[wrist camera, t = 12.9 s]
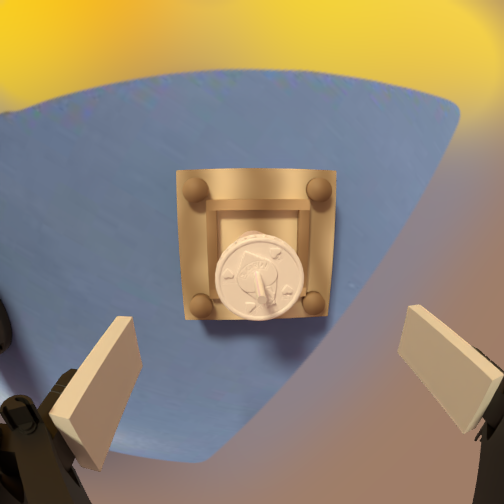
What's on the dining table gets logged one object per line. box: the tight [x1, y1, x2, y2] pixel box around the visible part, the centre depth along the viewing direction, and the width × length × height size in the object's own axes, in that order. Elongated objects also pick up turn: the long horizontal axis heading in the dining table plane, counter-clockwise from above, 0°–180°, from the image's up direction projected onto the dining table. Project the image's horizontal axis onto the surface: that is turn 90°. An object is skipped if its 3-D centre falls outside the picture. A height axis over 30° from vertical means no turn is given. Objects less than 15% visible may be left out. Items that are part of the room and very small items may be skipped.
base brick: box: [176, 168, 336, 320], centre depth 32 cm, size 16×16×6 cm
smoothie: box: [215, 231, 304, 321], centre depth 23 cm, size 6×6×14 cm
